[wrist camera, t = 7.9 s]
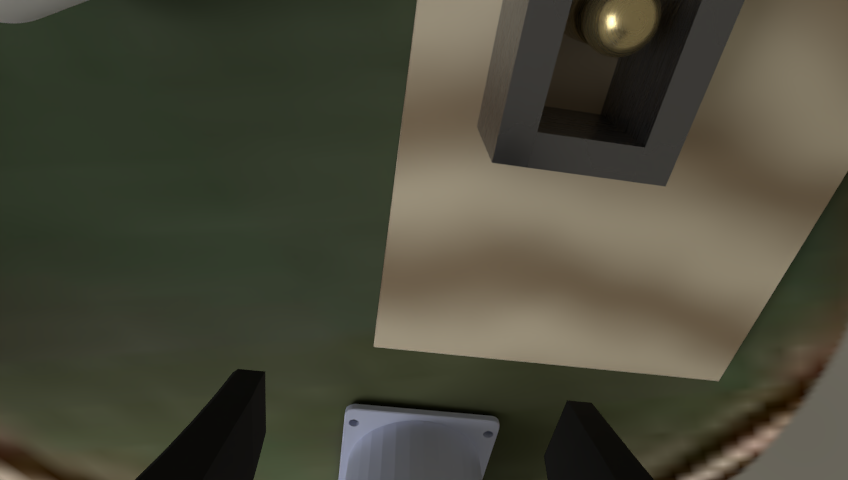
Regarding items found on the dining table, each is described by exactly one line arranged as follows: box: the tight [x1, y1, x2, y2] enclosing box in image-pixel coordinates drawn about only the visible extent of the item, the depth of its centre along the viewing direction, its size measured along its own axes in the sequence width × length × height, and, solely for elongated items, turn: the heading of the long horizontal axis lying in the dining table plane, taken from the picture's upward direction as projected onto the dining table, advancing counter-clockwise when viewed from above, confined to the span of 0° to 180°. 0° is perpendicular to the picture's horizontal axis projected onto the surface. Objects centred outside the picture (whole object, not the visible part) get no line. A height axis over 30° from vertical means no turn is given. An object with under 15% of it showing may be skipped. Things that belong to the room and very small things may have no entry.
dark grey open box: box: [477, 0, 745, 187], centre depth 13 cm, size 8×5×4 cm, turn 172°
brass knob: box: [564, 0, 661, 58], centre depth 13 cm, size 2×2×4 cm
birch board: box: [374, 0, 848, 381], centre depth 17 cm, size 20×16×2 cm
